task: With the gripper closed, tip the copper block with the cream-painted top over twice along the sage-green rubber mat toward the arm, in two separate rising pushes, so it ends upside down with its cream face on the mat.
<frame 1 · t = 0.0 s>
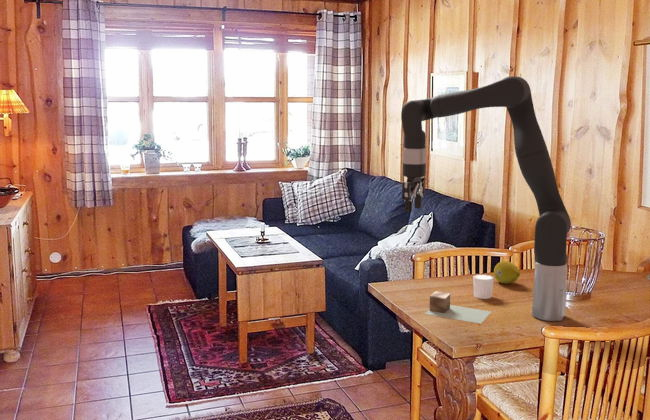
hand: (413, 210, 225), 29 cm above the table, tool pointing down, fingers open, 8 cm apart
copper block: (439, 309, 214), resting on rubber mat
rubber mat: (458, 313, 211), on the table
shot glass: (482, 297, 228), on the table
lemon: (506, 284, 242), on the table
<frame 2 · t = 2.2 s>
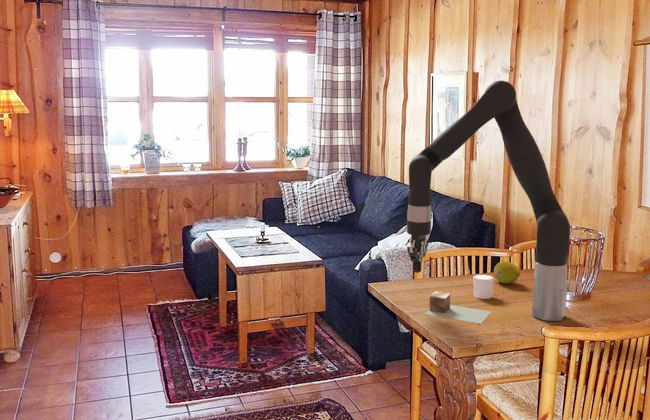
hand: (417, 271, 216), 12 cm above the table, tool pointing down, fingers closed
nothing on the table moved.
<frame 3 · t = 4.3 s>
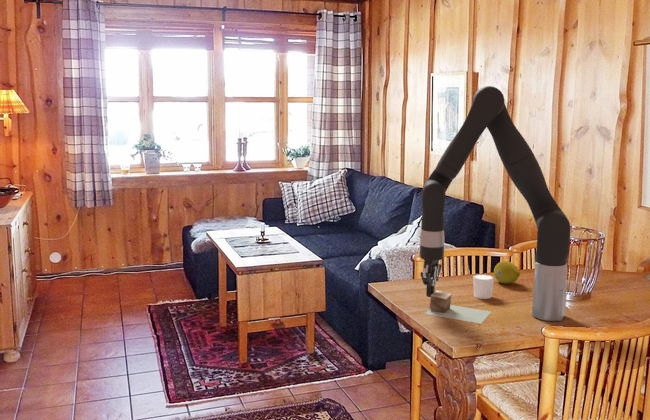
hand: (430, 296, 215), 4 cm above the table, tool pointing down, fingers closed
copper block: (439, 309, 214), resting on rubber mat, touching gripper
everything else where it was.
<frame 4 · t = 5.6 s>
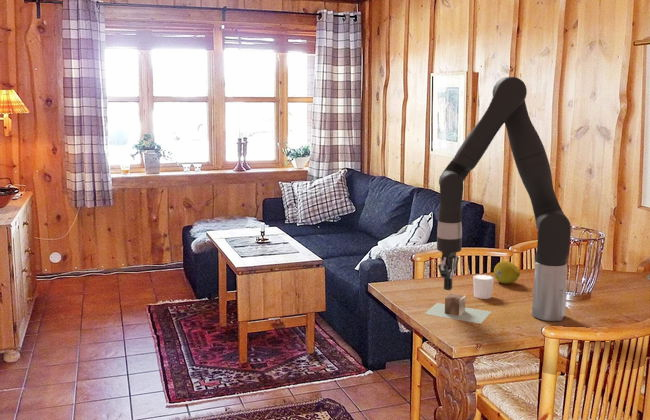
hand: (448, 289, 212), 7 cm above the table, tool pointing down, fingers closed
copper block: (447, 303, 212), point 3 cm above the table, tilted 90°, touching rubber mat
everything else where it was.
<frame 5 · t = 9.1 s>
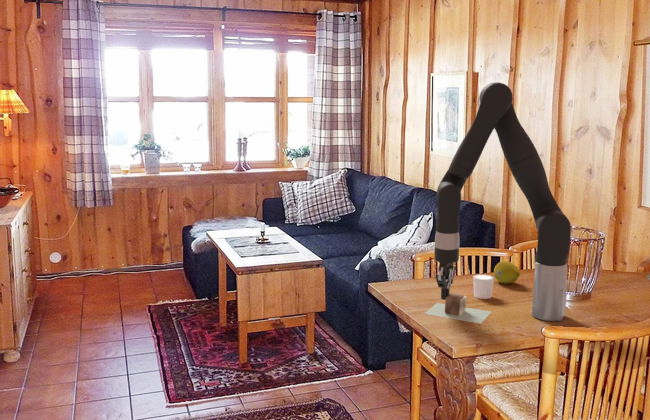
hand: (445, 299, 213), 4 cm above the table, tool pointing down, fingers closed
copper block: (448, 302, 212), point 3 cm above the table, tilted 93°, touching gripper, rubber mat
everything else where it was.
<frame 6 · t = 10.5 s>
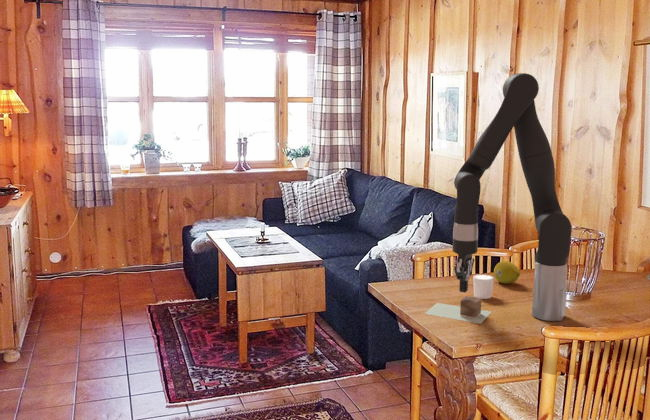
hand: (463, 291, 209), 7 cm above the table, tool pointing down, fingers closed
copper block: (471, 299, 208), point 5 cm above the table, tilted 180°, touching rubber mat
everything else where it was.
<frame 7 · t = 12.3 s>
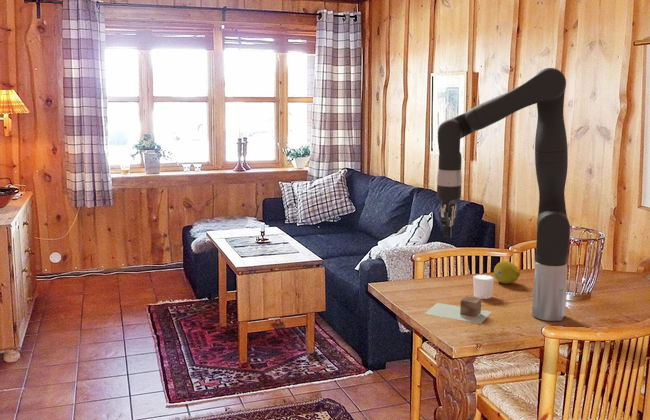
hand: (447, 237, 215), 23 cm above the table, tool pointing down, fingers closed
nothing on the table moved.
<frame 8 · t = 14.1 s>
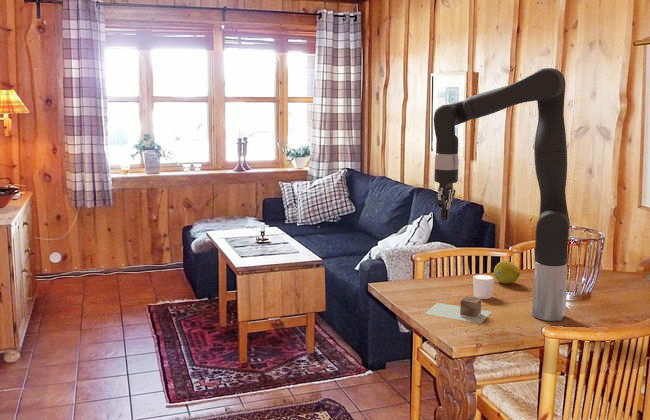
hand: (444, 220, 220), 27 cm above the table, tool pointing down, fingers closed
nothing on the table moved.
at the end: copper block tilted 180°; copper block inside the target area (0.0 cm from its centre), point 5.3 cm above the table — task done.
